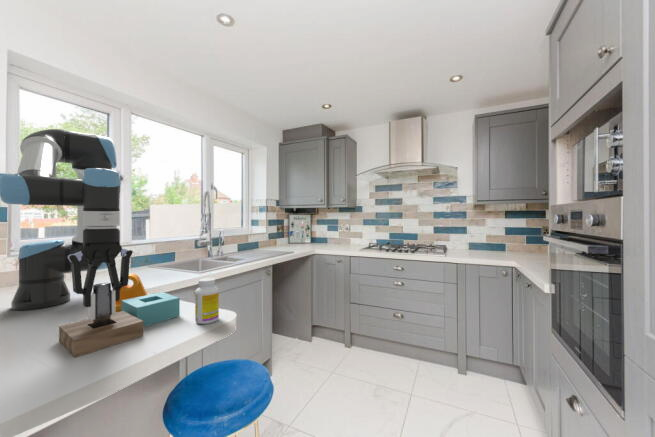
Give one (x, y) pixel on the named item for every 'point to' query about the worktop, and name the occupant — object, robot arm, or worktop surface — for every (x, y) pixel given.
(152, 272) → the worktop surface
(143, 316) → the block with rectangular slot
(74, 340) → the socket block
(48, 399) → the worktop surface
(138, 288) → the bracket
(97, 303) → the steel rod
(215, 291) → the supplement bottle
